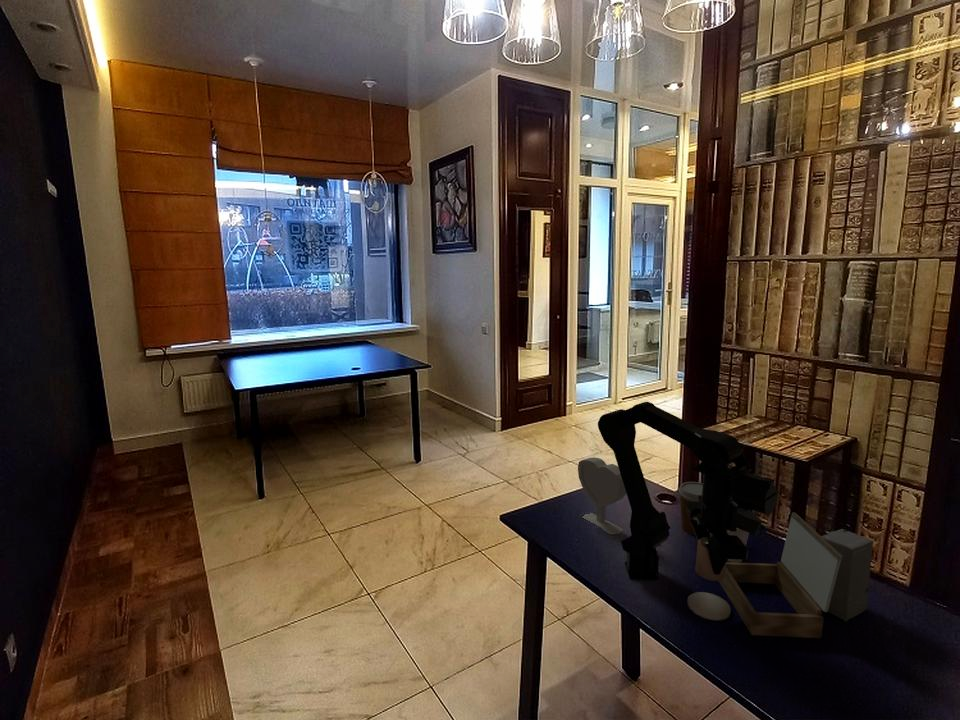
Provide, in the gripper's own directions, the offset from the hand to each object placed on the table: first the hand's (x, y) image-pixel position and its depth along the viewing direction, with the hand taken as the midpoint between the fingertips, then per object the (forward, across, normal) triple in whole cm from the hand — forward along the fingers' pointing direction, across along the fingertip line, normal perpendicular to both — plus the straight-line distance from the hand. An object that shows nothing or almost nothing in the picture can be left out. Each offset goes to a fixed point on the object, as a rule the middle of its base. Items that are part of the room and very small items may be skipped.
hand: (711, 565), depth 108 cm
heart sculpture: (+10, +35, +17) cm, 40 cm away
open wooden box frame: (+10, +1, -13) cm, 17 cm away
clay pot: (+2, 0, 0) cm, 2 cm away
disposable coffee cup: (+10, +33, -8) cm, 35 cm away
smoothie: (+10, +19, -13) cm, 25 cm away
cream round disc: (+10, 0, 0) cm, 10 cm away
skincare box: (+10, +2, -28) cm, 29 cm away
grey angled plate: (-2, +1, -19) cm, 20 cm away
